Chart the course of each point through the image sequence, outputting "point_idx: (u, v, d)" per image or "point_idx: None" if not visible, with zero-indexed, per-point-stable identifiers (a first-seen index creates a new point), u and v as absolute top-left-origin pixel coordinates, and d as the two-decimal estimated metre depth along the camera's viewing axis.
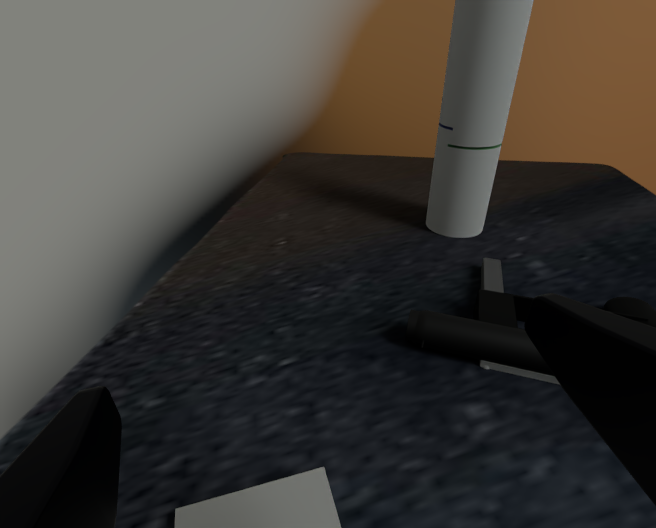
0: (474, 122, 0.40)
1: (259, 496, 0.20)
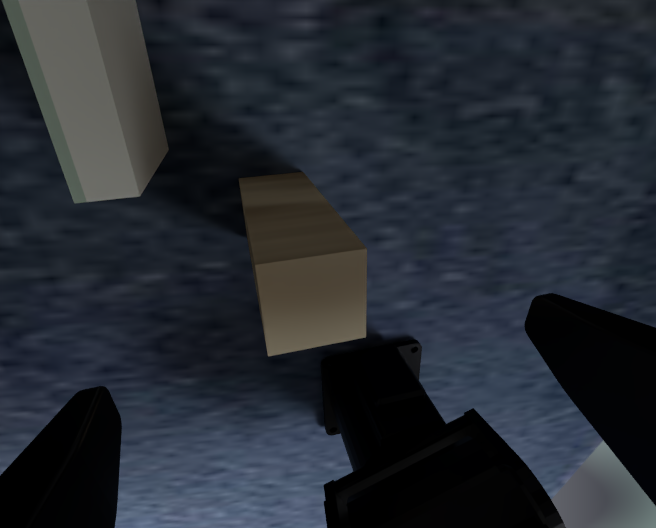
0: None
1: None
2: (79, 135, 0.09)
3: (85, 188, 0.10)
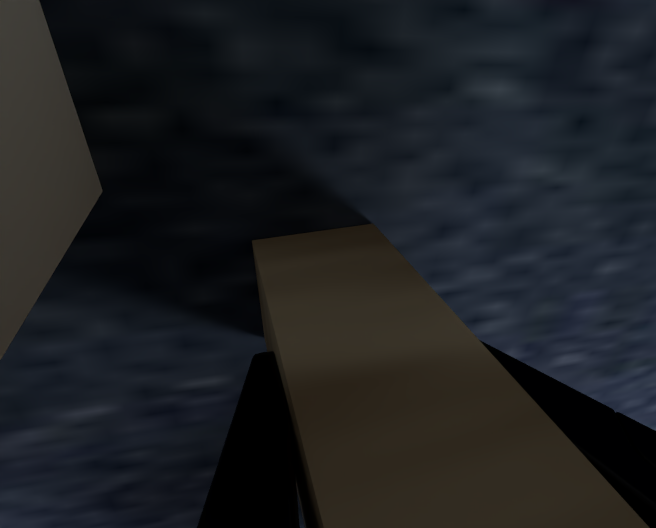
0: None
1: None
2: None
3: None
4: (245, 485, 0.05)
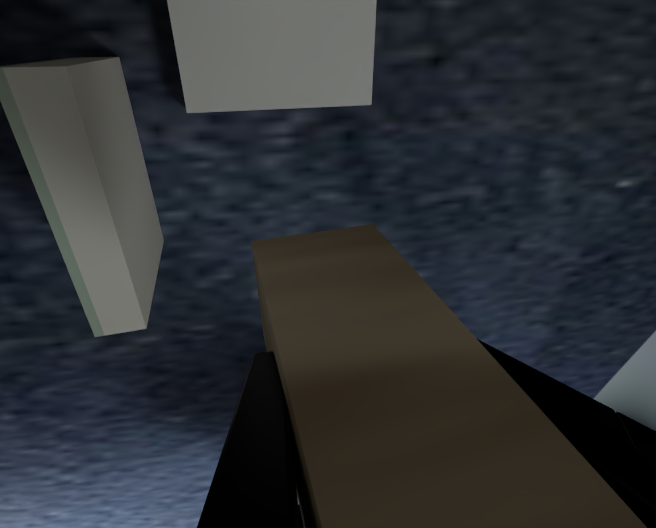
0: None
1: None
2: (100, 293, 0.12)
3: (103, 327, 0.13)
4: (245, 485, 0.05)
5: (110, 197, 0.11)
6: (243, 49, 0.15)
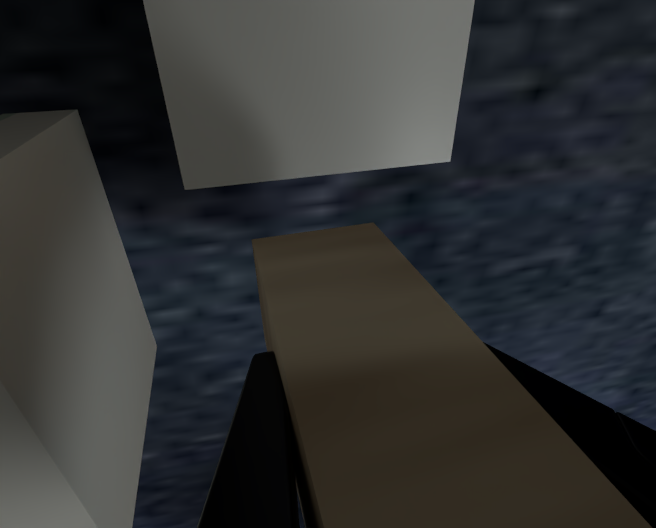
0: None
1: None
2: None
3: None
4: (245, 485, 0.05)
5: (46, 411, 0.06)
6: (270, 94, 0.10)
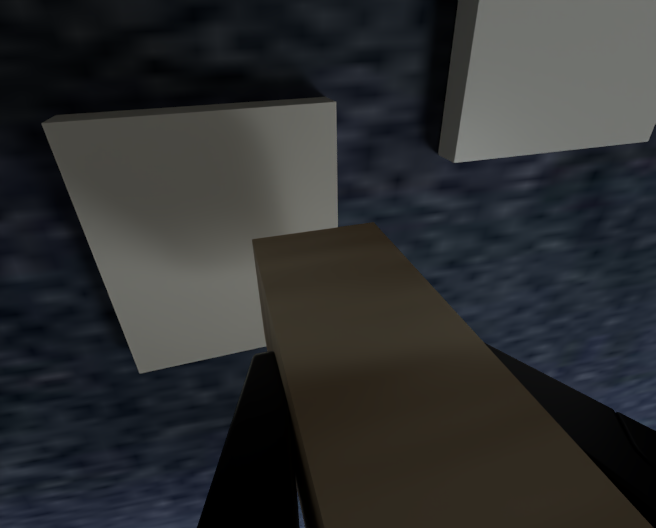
0: None
1: None
2: None
3: None
4: (245, 485, 0.05)
5: (111, 252, 0.11)
6: (538, 81, 0.12)
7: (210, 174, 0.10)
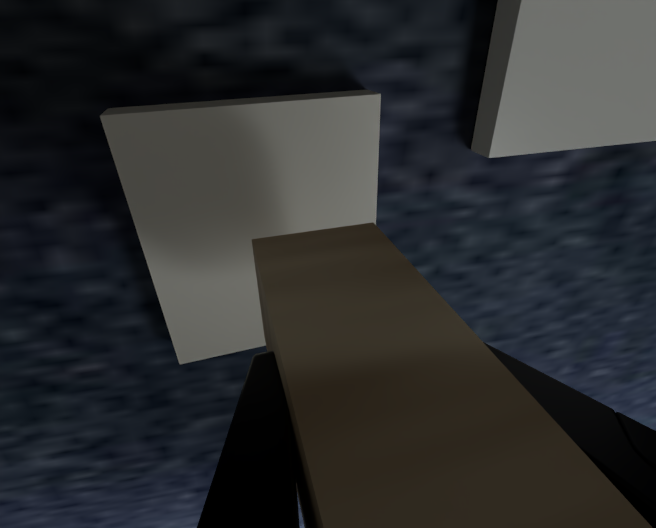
0: None
1: None
2: None
3: None
4: (245, 485, 0.05)
5: (159, 243, 0.11)
6: (574, 78, 0.12)
7: (257, 166, 0.10)
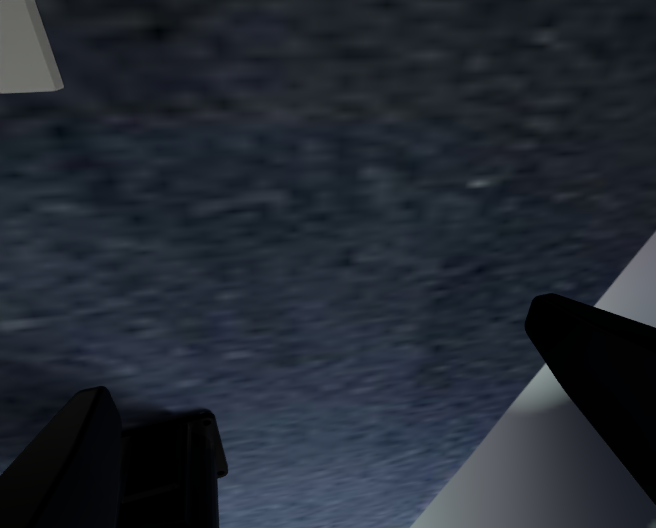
0: None
1: None
2: None
3: None
4: None
5: None
6: None
7: None
